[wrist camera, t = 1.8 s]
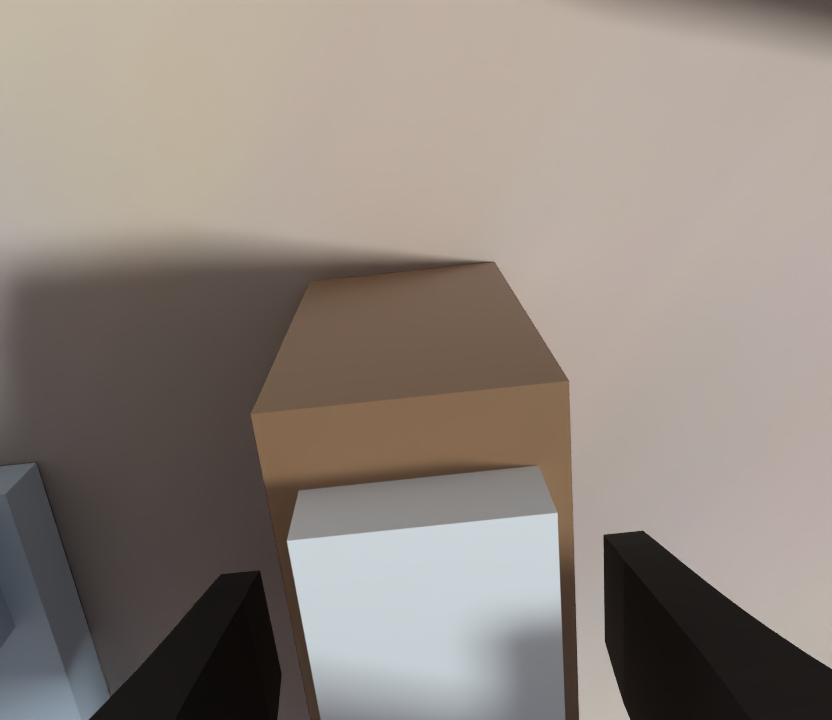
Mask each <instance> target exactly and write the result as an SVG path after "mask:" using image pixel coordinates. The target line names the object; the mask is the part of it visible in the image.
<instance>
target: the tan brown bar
mask: <svg viewBox="0 0 832 720" xmlns="http://www.w3.org/2000/svg"><path fill="white" fill-rule="evenodd" d="M251 419H252V424H253V429H254V435H255V440H256V445H257V450H258V455H259V460H260V465H261V470H262V475H263V481H264V486H265V491H266V496H267V501H268V506H269V511H270V516H271V521H272V526H273V532H274V537H275V542H276V547H277V552H278V557H279V562H280V567H281V572H282V577H283V583H284V588H285V593H286V598H287V603H288V608H289V613H290V618H291V623H292V628H293V634H294V639H295V644H296V649H297V654H298V659H299V664H300V669H301V674H302V679H303V685H304V690H305V695H306V700H307V705H308V710H309V715H310V720H579V706H578V672H577V638H576V604H575V570H574V536H573V502H572V468H571V434H570V400H569V380H568V379H567V377H566V375H565V374H564V372H563V371H562V369H561V367H560V366H559V364H558V363H557V361H556V359H555V358H554V356H553V355H552V353H551V351H550V350H549V348H548V347H547V345H546V343H545V342H544V340H543V339H542V337H541V335H540V334H539V332H538V331H537V329H536V327H535V326H534V324H533V323H532V321H531V319H530V318H529V316H528V315H527V313H526V311H525V310H524V308H523V307H522V305H521V303H520V302H519V300H518V299H517V297H516V296H515V294H514V292H513V291H512V289H511V288H510V286H509V284H508V283H507V281H506V280H505V278H504V276H503V275H502V273H501V272H500V270H499V268H498V267H497V265H496V264H495V262H488V263H478V264H469V265H459V266H450V267H440V268H431V269H421V270H412V271H402V272H393V273H383V274H374V275H364V276H355V277H345V278H336V279H326V280H317V281H310V282H309V284H308V287H307V289H306V291H305V293H304V296H303V298H302V300H301V302H300V304H299V307H298V309H297V311H296V313H295V316H294V318H293V320H292V322H291V325H290V327H289V329H288V331H287V334H286V336H285V338H284V340H283V343H282V345H281V347H280V349H279V352H278V354H277V356H276V358H275V360H274V363H273V365H272V367H271V369H270V372H269V374H268V376H267V378H266V381H265V383H264V385H263V387H262V390H261V392H260V394H259V396H258V399H257V401H256V403H255V405H254V408H253V410H252V412H251Z"/></svg>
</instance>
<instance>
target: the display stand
mask: <svg viewBox="0 0 832 720" xmlns="http://www.w3.org/2000/svg"><path fill="white" fill-rule="evenodd" d="M109 698H110V694H109V691H108V688H107V685H106V682H105V679H104V675H103V672H102V669H101V666H100V663H99V660H98V656H97V653H96V650H95V647H94V644H93V641H92V638H91V634H90V631H89V628H88V625H87V622H86V619H85V615H84V612H83V609H82V606H81V603H80V600H79V596H78V593H77V590H76V587H75V584H74V581H73V577H72V574H71V571H70V568H69V565H68V562H67V558H66V555H65V552H64V549H63V546H62V543H61V539H60V536H59V533H58V530H57V527H56V524H55V520H54V517H53V514H52V511H51V508H50V505H49V502H48V498H47V495H46V492H45V489H44V486H43V483H42V479H41V476H40V473H39V470H38V467H37V464H36V463H27V464H17V465H7V466H0V720H89V719H90V718H91V717H92V716H93V715H94V714H95V713H96V712H97V711H98V710H99V709H100V707H101V706H102V705H103V704H104V703H105V702H106V701H107V700H108V699H109Z"/></svg>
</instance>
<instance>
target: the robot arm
mask: <svg viewBox="0 0 832 720" xmlns="http://www.w3.org/2000/svg"><path fill="white" fill-rule="evenodd" d="M604 606H605V643H606V647H607V650H608V653H609V657H610V660H611V664H612V667H613V670H614V674H615V677H616V680H617V684H618V687H619V690H620V693H621V696H622V700H623V703H624V705H625V708H626V710H627V712H628V715H629V717H630V720H832V669H831V668H829V667H827V666H826V665H824V664H823V663H821V662H819V661H818V660H816V659H815V658H813V657H811V656H810V655H808V654H807V653H805V652H804V651H802V650H801V649H799V648H798V647H796V646H795V645H793V644H792V643H790V642H789V641H787V640H786V639H784V638H783V637H781V636H780V635H778V634H777V633H775V632H774V631H772V630H771V629H769V628H768V627H767V626H765V625H764V624H762V623H761V622H760V621H758V620H757V619H755V618H754V617H753V616H751V615H750V614H748V613H747V612H746V611H744V610H743V609H741V608H740V607H739V606H737V605H736V604H735V603H733V602H732V601H731V600H729V599H728V598H727V597H725V596H724V595H723V594H721V593H720V592H719V591H718V590H716V589H715V588H714V587H712V586H711V585H710V584H709V583H707V582H706V581H705V580H703V579H702V578H701V577H700V576H698V575H697V574H696V573H695V572H693V571H692V570H691V569H690V568H688V567H687V566H686V565H685V564H683V563H682V562H681V561H680V560H678V559H677V558H676V557H675V556H674V555H672V554H671V553H670V552H669V551H667V550H666V549H665V548H664V547H663V546H661V545H660V544H659V543H658V542H656V541H655V540H654V539H653V538H651V537H650V536H649V535H648V534H646V533H645V532H644V531H636V532H627V533H617V534H607V535H604ZM281 675H282V674H281V669H280V665H279V660H278V655H277V650H276V645H275V641H274V636H273V631H272V626H271V621H270V616H269V612H268V607H267V602H266V597H265V592H264V588H263V583H262V578H261V573H260V570H258V571H249V572H239V573H229V574H221V575H220V576H219V577H218V578H217V579H216V581H215V582H214V583H213V584H212V585H211V586H210V587H209V589H208V590H207V591H206V592H205V593H204V594H203V595H202V597H201V598H200V599H199V600H198V601H197V602H196V604H195V605H194V606H193V607H192V608H191V609H190V611H189V612H188V613H187V614H186V615H185V616H184V618H183V619H182V620H181V621H180V622H179V623H178V624H177V626H176V627H175V628H174V629H173V630H172V631H171V633H170V634H169V635H168V636H167V637H166V638H165V639H164V641H163V642H162V643H161V644H160V645H159V646H158V647H157V648H156V649H155V651H154V652H153V653H152V654H151V655H150V656H149V657H148V658H147V659H146V661H145V662H144V663H143V664H142V665H141V666H140V667H139V668H138V670H137V671H136V672H135V673H134V674H133V675H132V676H131V677H130V678H129V679H128V680H127V681H126V682H125V683H124V684H123V685H122V686H121V687H120V688H119V689H118V690H117V691H116V692H115V693H114V694H113V695H112V696H111V697H110V698H109V699H108V700H107V701H106V702H105V703H104V704H103V705H102V706H101V707H100V709H99V710H98V711H97V712H96V713H95V714H94V715H93V716H92V717H91V718H90V719H89V720H277V716H278V706H279V696H280V685H281Z"/></svg>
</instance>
